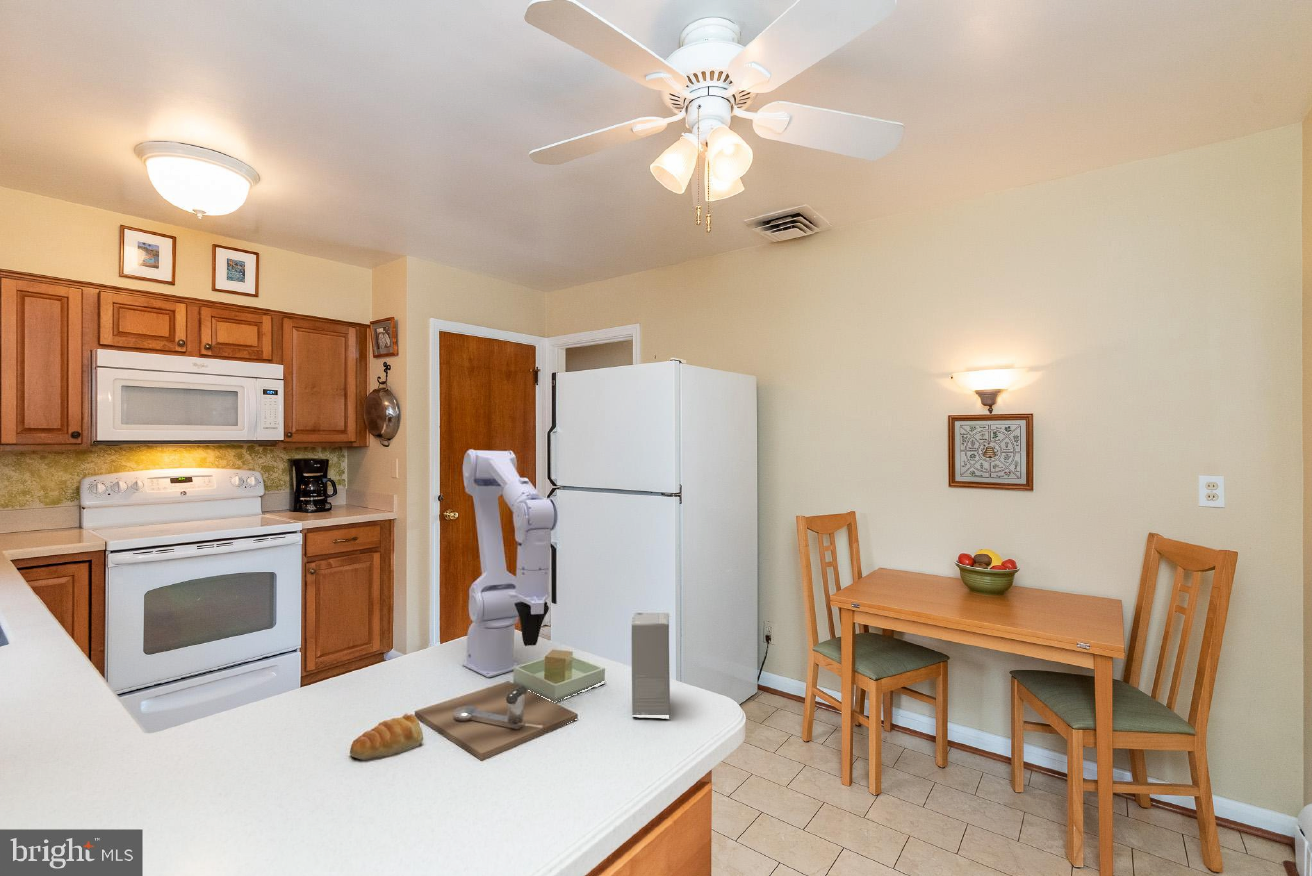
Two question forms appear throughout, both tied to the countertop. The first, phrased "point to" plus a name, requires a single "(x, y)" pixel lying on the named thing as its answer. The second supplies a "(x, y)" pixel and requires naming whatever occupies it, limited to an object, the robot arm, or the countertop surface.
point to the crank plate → (490, 737)
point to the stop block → (558, 666)
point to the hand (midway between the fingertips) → (529, 644)
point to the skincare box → (650, 664)
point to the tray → (535, 682)
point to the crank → (512, 721)
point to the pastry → (388, 738)
